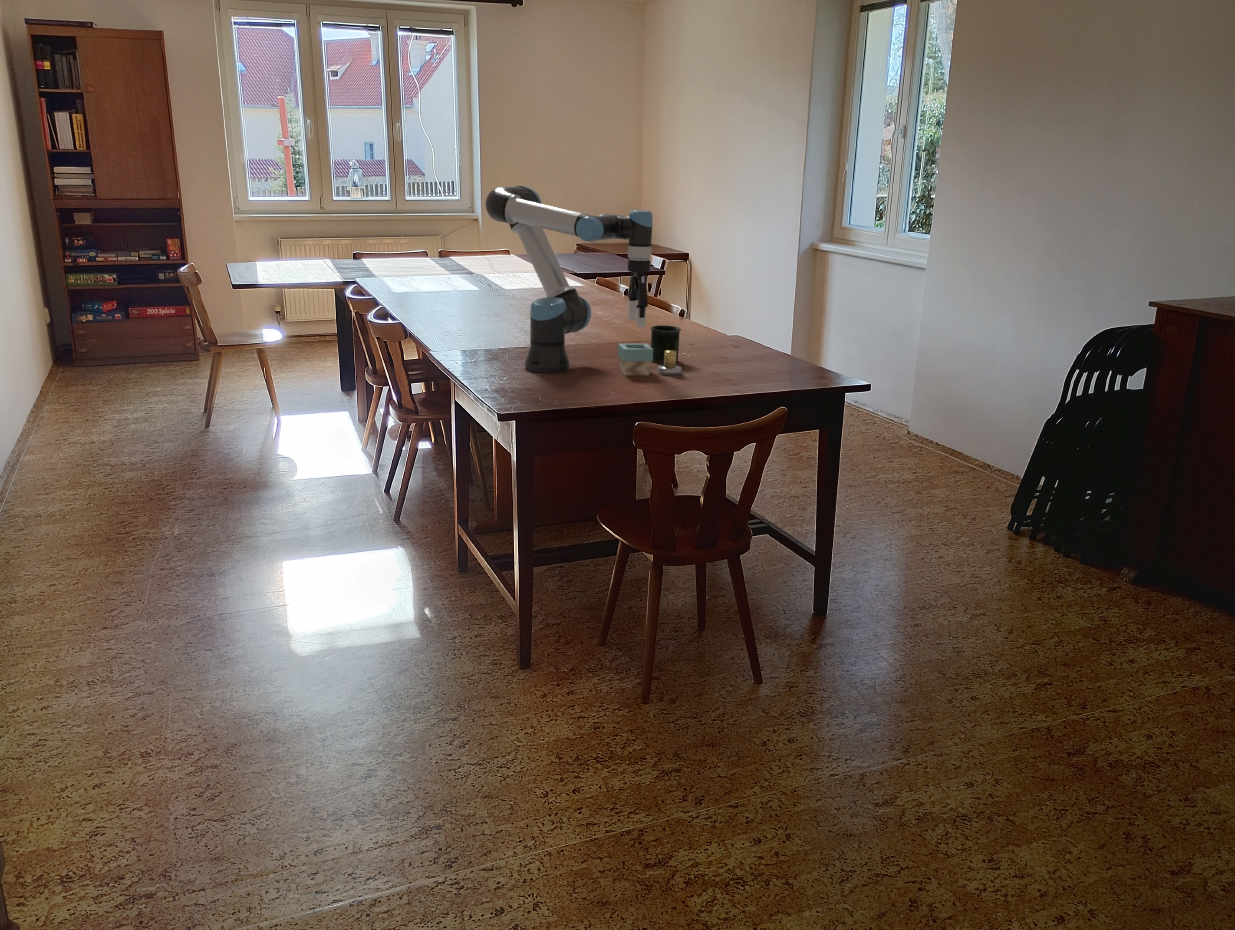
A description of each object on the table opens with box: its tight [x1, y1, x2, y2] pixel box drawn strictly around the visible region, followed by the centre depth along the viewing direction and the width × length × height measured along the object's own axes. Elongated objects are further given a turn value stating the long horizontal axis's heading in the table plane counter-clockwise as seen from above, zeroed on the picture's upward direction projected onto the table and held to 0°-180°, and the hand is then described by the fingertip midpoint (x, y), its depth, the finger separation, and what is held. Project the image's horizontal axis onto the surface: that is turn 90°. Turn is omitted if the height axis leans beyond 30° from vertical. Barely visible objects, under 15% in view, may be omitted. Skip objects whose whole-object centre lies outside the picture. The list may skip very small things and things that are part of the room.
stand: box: [619, 358, 651, 376], centre depth 320 cm, size 8×8×7 cm
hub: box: [657, 350, 682, 377], centre depth 321 cm, size 8×8×8 cm
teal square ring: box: [617, 343, 653, 362], centre depth 318 cm, size 10×10×4 cm
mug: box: [650, 324, 682, 364], centre depth 340 cm, size 11×15×12 cm
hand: (636, 323), depth 316 cm, fingers open, 13 cm apart
